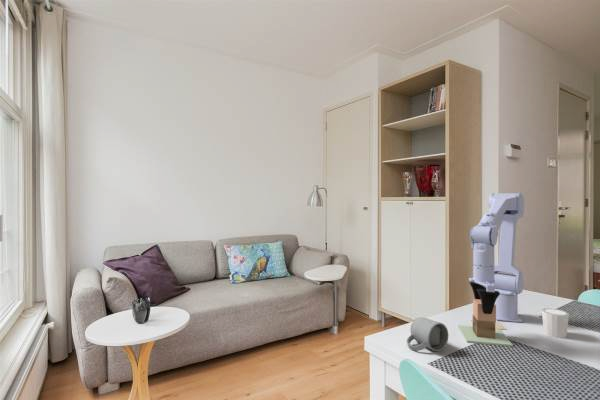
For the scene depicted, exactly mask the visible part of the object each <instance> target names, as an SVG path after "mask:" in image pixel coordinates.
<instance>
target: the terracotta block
mask: <svg viewBox="0 0 600 400" xmlns="http://www.w3.org/2000/svg"><path fill="white" fill-rule="evenodd" d="M472 301H473V303H472V306H473V307H472V308H473V310H472V313H473V314H472V316H473V315H474V316H475V318H476V319H477V320H478V321H491V322H497V320H496V305H495V304H494V307H493V311H492V314H484V313H483V310H482V304H481V299H475V298H473V299H472Z"/></svg>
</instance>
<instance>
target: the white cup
mask: <svg viewBox="0 0 600 400" xmlns="http://www.w3.org/2000/svg"><path fill="white" fill-rule="evenodd" d="M541 316H542V325H543V333H544V334H545V335H547V336H550V337H554V338H559V339H565V338H567V335H568V329H569V328H568V327H569V319H570V313H569V312H567V311H565V310H561V309H556V308H548V307H547V308H542V309H541Z"/></svg>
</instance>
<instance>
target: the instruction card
mask: <svg viewBox="0 0 600 400" xmlns="http://www.w3.org/2000/svg"><path fill="white" fill-rule="evenodd" d="M470 321H471V322H472V324H473V319H471V320H470ZM495 328H496V329H500V330H501V331H503V330H504V331H507V328H506V327H505V326H504V325H503V324H502V323H501V321H500V322H497V321H496V322H495Z"/></svg>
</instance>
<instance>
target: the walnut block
mask: <svg viewBox="0 0 600 400" xmlns="http://www.w3.org/2000/svg"><path fill="white" fill-rule="evenodd" d="M472 320H473V323H472V327H473V332H474V333H475V335H476V336H477V337H484V338H495V322H491V321H478V320H477V319H476V318H475V316H474V315H473V314H472Z"/></svg>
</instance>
